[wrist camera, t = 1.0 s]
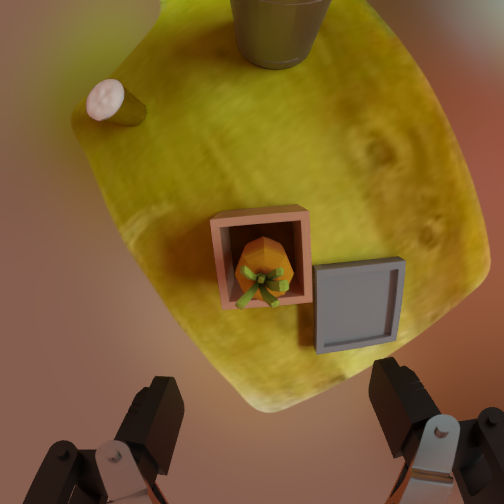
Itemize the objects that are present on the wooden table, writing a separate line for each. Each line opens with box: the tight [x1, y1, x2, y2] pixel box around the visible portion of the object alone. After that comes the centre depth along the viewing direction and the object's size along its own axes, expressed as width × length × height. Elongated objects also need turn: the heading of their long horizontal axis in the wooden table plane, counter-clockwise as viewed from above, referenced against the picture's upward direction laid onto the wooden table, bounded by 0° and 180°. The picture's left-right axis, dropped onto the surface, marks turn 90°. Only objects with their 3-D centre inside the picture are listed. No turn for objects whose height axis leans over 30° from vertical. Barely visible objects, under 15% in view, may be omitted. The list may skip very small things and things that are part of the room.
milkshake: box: [86, 79, 147, 126], centre depth 24 cm, size 4×5×10 cm
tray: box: [313, 257, 406, 354], centre depth 33 cm, size 12×12×2 cm
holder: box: [210, 204, 312, 310], centre depth 29 cm, size 9×9×7 cm
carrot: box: [235, 236, 294, 309], centre depth 25 cm, size 5×5×15 cm
